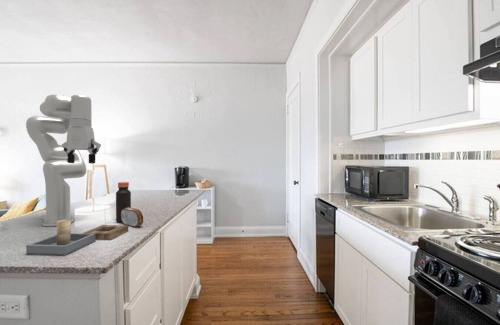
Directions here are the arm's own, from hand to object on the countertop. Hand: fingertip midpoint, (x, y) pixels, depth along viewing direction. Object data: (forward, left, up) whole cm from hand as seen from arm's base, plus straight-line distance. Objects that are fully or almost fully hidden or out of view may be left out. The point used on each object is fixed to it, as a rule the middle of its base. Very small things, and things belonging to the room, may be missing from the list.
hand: (81, 163), depth 107 cm
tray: (+8, -19, -30) cm, 36 cm away
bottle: (+8, +18, -30) cm, 36 cm away
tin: (+16, +11, -30) cm, 36 cm away
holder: (+14, -4, -30) cm, 33 cm away
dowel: (+8, -19, -30) cm, 36 cm away
